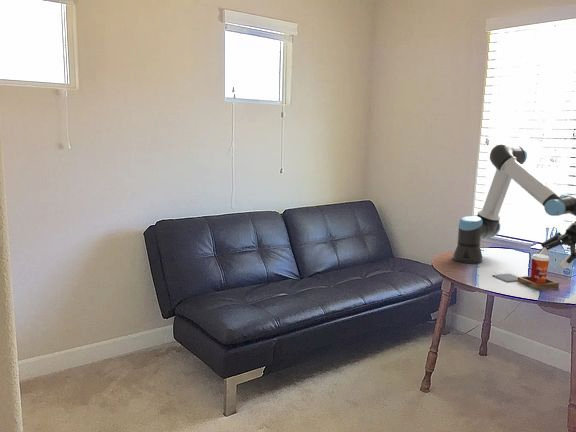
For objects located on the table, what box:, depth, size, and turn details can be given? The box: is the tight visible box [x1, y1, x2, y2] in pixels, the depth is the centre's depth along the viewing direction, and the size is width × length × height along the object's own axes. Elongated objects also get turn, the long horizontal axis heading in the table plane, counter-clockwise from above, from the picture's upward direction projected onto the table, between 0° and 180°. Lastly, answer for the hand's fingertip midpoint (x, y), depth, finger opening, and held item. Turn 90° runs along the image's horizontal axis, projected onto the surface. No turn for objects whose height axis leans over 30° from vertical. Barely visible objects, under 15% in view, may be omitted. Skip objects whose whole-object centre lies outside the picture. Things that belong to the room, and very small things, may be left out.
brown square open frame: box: [516, 275, 560, 291], centre depth 226 cm, size 12×12×2 cm
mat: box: [491, 273, 519, 283], centre depth 235 cm, size 10×10×1 cm
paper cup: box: [530, 253, 550, 284], centre depth 225 cm, size 8×8×14 cm
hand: (549, 263), depth 224 cm, fingers open, 13 cm apart
